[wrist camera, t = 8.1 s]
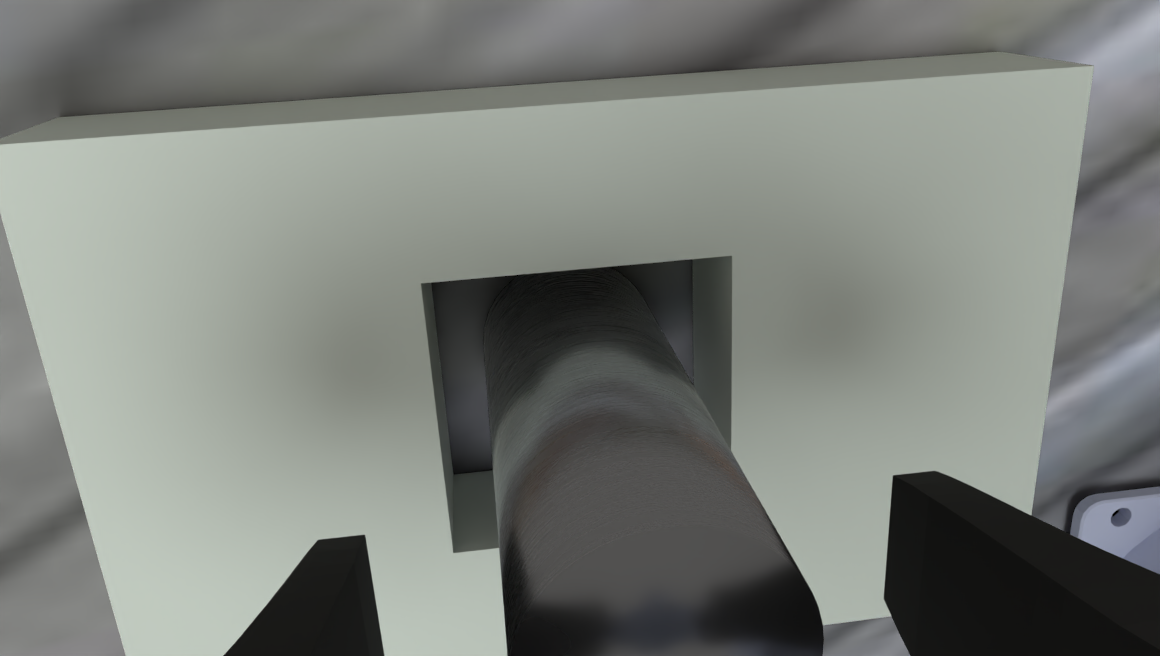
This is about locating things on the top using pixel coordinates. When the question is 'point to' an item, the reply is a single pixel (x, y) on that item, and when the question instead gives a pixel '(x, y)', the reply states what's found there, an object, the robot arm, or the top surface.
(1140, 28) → the top surface
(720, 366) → the hole block
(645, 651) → the peg
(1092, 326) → the top surface
